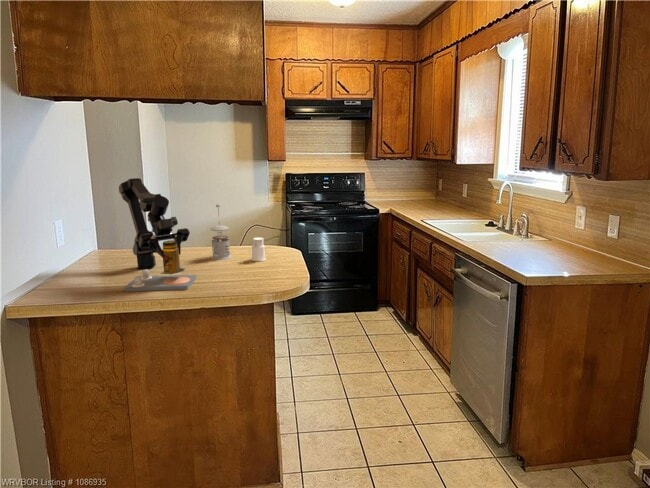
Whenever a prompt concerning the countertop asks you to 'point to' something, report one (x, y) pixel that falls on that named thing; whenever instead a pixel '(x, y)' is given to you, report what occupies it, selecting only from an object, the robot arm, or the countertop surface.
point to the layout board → (160, 282)
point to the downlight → (258, 250)
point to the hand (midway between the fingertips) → (171, 255)
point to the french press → (220, 243)
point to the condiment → (171, 258)
